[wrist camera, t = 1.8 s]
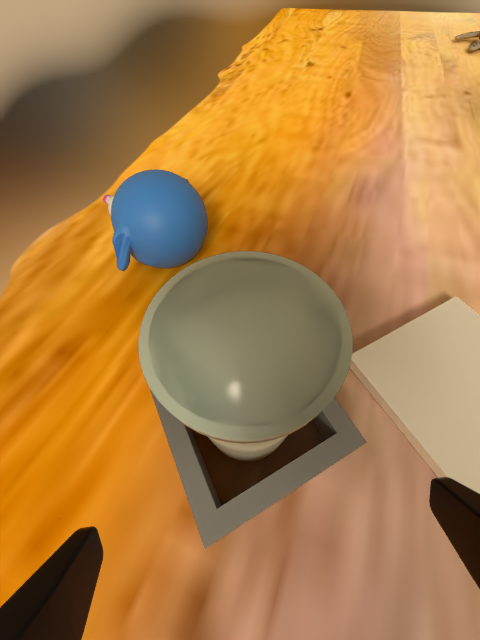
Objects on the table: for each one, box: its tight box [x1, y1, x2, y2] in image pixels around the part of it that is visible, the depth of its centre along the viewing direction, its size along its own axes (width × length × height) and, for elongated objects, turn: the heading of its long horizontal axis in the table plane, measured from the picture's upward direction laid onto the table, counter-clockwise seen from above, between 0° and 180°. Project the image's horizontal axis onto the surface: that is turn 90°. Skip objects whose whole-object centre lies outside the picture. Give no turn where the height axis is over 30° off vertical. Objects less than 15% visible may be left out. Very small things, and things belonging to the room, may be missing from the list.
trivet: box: [350, 296, 480, 494], centre depth 19 cm, size 12×12×1 cm
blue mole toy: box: [103, 170, 208, 271], centre depth 25 cm, size 12×12×8 cm
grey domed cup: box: [139, 251, 353, 462], centre depth 14 cm, size 9×7×13 cm
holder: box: [150, 389, 366, 549], centre depth 18 cm, size 10×10×3 cm
